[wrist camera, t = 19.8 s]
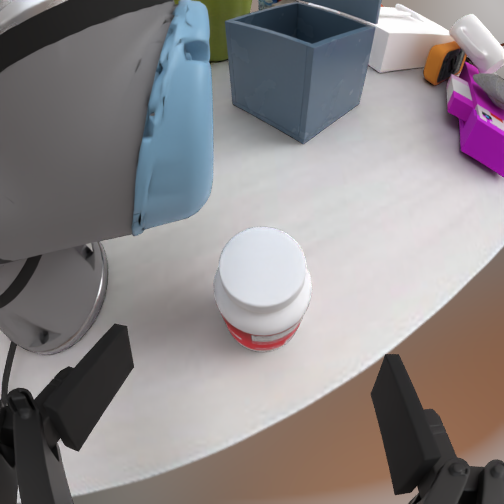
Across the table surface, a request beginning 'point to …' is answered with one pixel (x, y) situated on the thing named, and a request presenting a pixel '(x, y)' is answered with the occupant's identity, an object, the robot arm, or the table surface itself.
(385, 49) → the tissue box
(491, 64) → the mug
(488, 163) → the toy
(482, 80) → the grey rock
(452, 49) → the multimeter
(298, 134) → the blue-grey hollow box
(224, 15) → the flower pot
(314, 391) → the table surface
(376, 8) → the lid
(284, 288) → the pill bottle
